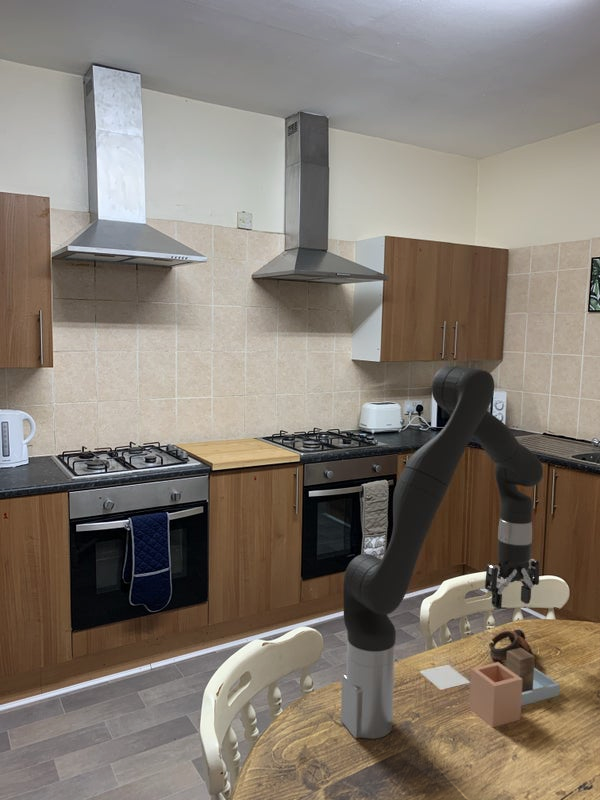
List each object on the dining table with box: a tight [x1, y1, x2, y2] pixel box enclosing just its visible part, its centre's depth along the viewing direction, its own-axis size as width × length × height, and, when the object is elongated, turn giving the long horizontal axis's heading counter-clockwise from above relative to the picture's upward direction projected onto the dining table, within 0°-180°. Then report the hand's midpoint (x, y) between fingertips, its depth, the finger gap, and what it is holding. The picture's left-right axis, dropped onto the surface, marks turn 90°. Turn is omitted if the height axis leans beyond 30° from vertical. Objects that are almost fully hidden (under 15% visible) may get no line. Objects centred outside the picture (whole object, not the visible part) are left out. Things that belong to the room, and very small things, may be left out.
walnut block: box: [505, 648, 536, 692], centre depth 132 cm, size 4×4×8 cm
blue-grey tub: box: [521, 667, 561, 707], centre depth 132 cm, size 13×10×3 cm
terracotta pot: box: [468, 661, 523, 728], centre depth 123 cm, size 7×7×9 cm
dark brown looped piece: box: [488, 629, 536, 668], centre depth 145 cm, size 12×10×8 cm
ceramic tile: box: [418, 664, 470, 691], centre depth 137 cm, size 8×8×1 cm
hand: (511, 605), depth 145 cm, fingers open, 8 cm apart
